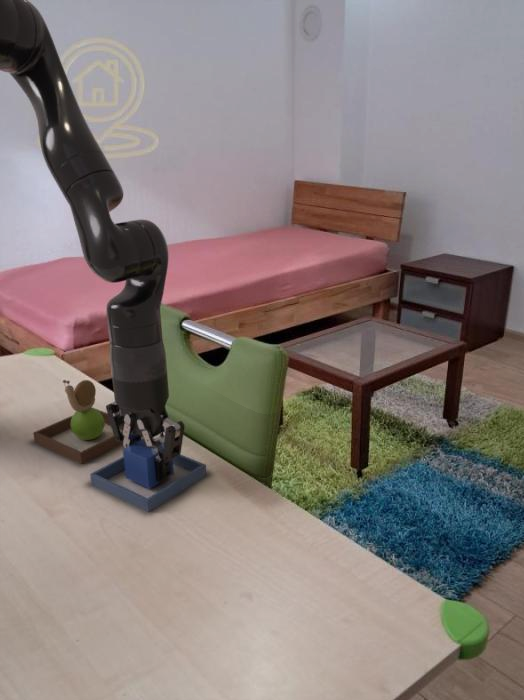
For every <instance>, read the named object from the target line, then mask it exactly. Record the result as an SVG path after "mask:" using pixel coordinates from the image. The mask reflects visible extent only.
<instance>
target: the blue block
mask: <svg viewBox="0 0 524 700" xmlns="http://www.w3.org/2000/svg"><path fill="white" fill-rule="evenodd" d="M154 439H155V437H153V440H154ZM159 450H160V452H161V451H163V448H162V445H161V444H160V445H159ZM122 455H123V456H124V465H125V469H124V472H125V478H126V479H127V480H130V481H131V482H133V483H136V484H138V485H140V486H142V487H146V488H147V489H152V488H153V487H155V486H157V485H158V484H161V483H160V482H157V481H156V473H155V463H154V461H155V459H154V456H153V453H152V450H151V448H148V447H147V445H146V442H145V439H144V437H142V438H141V440H139V441H137V442H135V443H134V444H132V445H130V446H128V447H126V448H124V447H123V448H122ZM123 456H122V457H123ZM170 465H171V476H173V475H174V474H175V471H174V464H173V459H172V460H170Z"/></svg>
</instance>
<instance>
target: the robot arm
mask: <svg viewBox="0 0 524 700" xmlns="http://www.w3.org/2000/svg"><path fill="white" fill-rule="evenodd" d="M0 71H1V72H5V73H8V74H9V75H10V76H11V77H12V78H13V79H14V80H15V82H16V83H17V84H18V85H19V87H20V88H21V90H22V91H23V93H24V94H25V95H26V97H27V99H28V100H29V102H30V103H31V106H32V108H33V110H34V113H35V116H36V121H37V127H38V136H39V137H38V138H39V145H40V149H41V153H42V156H43V160H44V162H45V164H46V166H47V168H48V171H49V172H50V174H51V176H52V178H53V179H54V181H55V183H56V185H57V186H58V188H59V190H60V192H61V194H62V195H63V197H64V199H65V200H66V202H67V204H68V205H69V208H70V210H71V214H72V218H73V221H74V225H75V228H76V232H77V236H78V239H79V244H80V247H81V251H82V254H83V258H84V260H85V263H86V264H87V266H88V268H89V269H90V270H91V272H92V273H93V274H94V275H95V276H96V277H98V278H99V279H101V280H103V281H104V282H107V283H111V284H115V283H121V282H124V283H125V284H124V287H123V289H122V290H121V291H119V293H117V294H115V296H113V297H112V298H110V299H109V300H108V301H107V304H106V311H105V313H106V323H107V331H108V339H109V364H110V370H111V371H110V372H111V380H112V388H113V397H114V401H112V402H111V403H108V404H107V405H105V410H106V413H108V417H109V420H110V424H111V425H110V427H111V430H112V434H113V436H114V438H115V440H116V441H117V442H120V441H121V442H122V443H123V444H122V446H123V449H124V448H126V447H128V446H130V445H132V444H134V443H135V442H137V441H139V440H141V439H143V438H144V439H145V442H146V445H147V447H148V448H151V450H152V453H153V456H154V459H155V461H154V463H155V473H156V481H157V482H160V483H159V484H162V483H164V482H165V481H167V480H169V479H170V478H171V476H172V475H171V465H170V460H172V459H174V458H175V457H177V456H179V455H182V447H183V441H184V440H183V439H184V432H185V423H184V422H183V421H181V420H179V421H177V422H175V421H173V420H172V419H170V418H169V414H168V411H167V408H166V404H167V402H168V400H169V397H170V391H169V377H168V366H167V364H168V363H167V354H166V347H165V344H164V343H165V342H164V337H163V327H162V315H161V305H162V302H163V297H164V291H165V285H166V280H167V274H168V268H169V247H168V243H167V240H166V238H165V235H164V233H163V231H162V229H161V228H160V227H159V226H158V225H157V224H156V223H155V222H153V221H151V220H148V219H142V218H141V219H139V218H138V219H134V220H127V221H122V222H117V223H115V222H114V221H113V219H112V216H111V214H110V212H112V211H114V210H115V209H116V208H117V207H118V206H120V204H121V203H122V201H123V199H124V189H123V186H122V184H121V181H120V180H119V178H118V175H116V173H115V171H114V169H113V167H112V165H111V163H110V162H109V160H108V159H107V157H106V155H105V153H104V152H103V150H102V147H100V145H99V143H98V140H97V139H96V138H95V136H94V134H93V132H92V130H91V129H90V126H89V124H88V122H87V121H86V118H85V116H84V115H83V112H82V110H81V108H80V105H79V103H78V101H77V98H76V95H75V93H74V91H73V89H72V86H71V83H70V80H69V79H68V76H67V74H66V71H65V69H64V66H63V64H62V60H61V58H60V55H59V52H58V51H57V47H56V45H55V42H54V40H53V37H52V35H51V32H50V29H49V28H48V26H47V22H46V21H45V18H44V17H43V15H42V14H41V12H40V11H39V9H38V8H37V7H36V6H35V5H34V4H33V3H32V2H31V1H29V0H0ZM120 425H122V426H123V430H121V429H120V428H119V426H120ZM157 436H158V437H157ZM155 437H156V438H155ZM153 438H154V440H153ZM160 444H161V445H162V448H163V451H161V452H160V450H159V445H160Z"/></svg>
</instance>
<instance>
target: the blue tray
mask: <svg viewBox="0 0 524 700" xmlns="http://www.w3.org/2000/svg"><path fill="white" fill-rule="evenodd" d="M173 465H175V466H177V467H180V468H182V469H185V470H187V471H190V472H187V473H186V474H185V475H183V476H181V477H179V478H178V479H177V480H175V481H173V482H172V483H170V484H168V485H167V486H165V487H164V488H161V489H160V490H159V491H157V492H155V493H154V494H152V495H150V496H149V497H145V496H143V495H141V494H140V493H137V492H134V491H133V490H132V489H131V490H130V489H128V488H126V487H124V486H122V485H120V484H118V483H116V482H113V481H111V480H109V478H111V477H113V476H115V475H117V474H119V473H120V472H122V471H125V465H124V456H121V457H120V458H118V459H116V460H114V461H112V462H110V463H108V464H106V465H104V466H103V467H101V468H99V469H97V470H94V471H93V472H92V473H90V474H89V477H90V483H91V486H93V487H95V488H97V489H99V490H101V491H103V492H106V493H108V494H109V495H111V496H114V497H115V498H118V499H120V500H122V501H124V502H126V503H128V504H130V505H133V506H135V507H137V508H139V509H140V510H143V511H145V512H147V513H150V512H152V511H153V510H154V509H156V508H158V507H159V506H161V505H163V504H164V503H165V502H167V501H168V500H170V499H172V498H174V497H175V496H176V495H178V494H179V493H181V492H183V491H184V490H185V489H187V488H189V487H191V486H192V485H194V484H195V483H197V482H199V481H200V480H202V479H203V478H205V477H206V476H207V464H205V463H202V462H200V461H198V460H195V459H193V458H190V457H188V456H186V455H183V454H180V455H179V456H177V457H175V458H174V459H173Z"/></svg>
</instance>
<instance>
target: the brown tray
mask: <svg viewBox="0 0 524 700" xmlns="http://www.w3.org/2000/svg"><path fill="white" fill-rule="evenodd" d="M91 408H93V409H96V410H97V411H99V412H100V413H101V414H102V416H103V418H104V422H105V425H108V426H111V424H110V420H109V417H108V413H107V412H105V411H102V410H100V409H98V408H95V407H93V406H92V407H91ZM72 416H73V415H71V416H68V417H66V418H63V419H61V420H59V421H57V422H54V423H52V424H50V425H47V426H45V427H42V428H41V429H38V430H36V431H34V432H32V434H33V439H34V443H35V444H38V445H39V446H42V447H43V448H45V449H48V450H50V451H53V452H55V453H57V454H58V455H61V456H63V457H65V458H67V459H70V460H72V461H74V462H76V463H78V464H81V465H83V464H85V463H87V462H90V461H91V460H93V459H95V458H97V457H99V456H101V455H103V454H105V453H107V452H109V451H111V450H113V449H115V448H117V447H118V446H121V445H123V443H122V442H121V441H120V442H117V441H116V440H115V438H114V435H112V436H110V437H108V438H106V439H104V440H102V441H99V442H97V443H96V444H94V445H92V446H90V447H88V448H85V449H83V450H82V451H80V450H78V449H75V448H73V447H71V446H69V445H66V444H64V443H63V442H60V441H57V440H56V439H53V438H52V437H55V436H57V435H59V434H61V433H63V432H66V431H67V430H69V429H70V430H71V419H72ZM119 428H120V431H123V426H122V425H120V426H119Z"/></svg>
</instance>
